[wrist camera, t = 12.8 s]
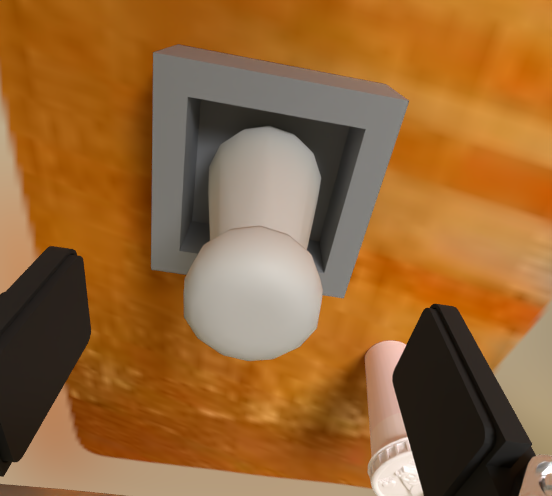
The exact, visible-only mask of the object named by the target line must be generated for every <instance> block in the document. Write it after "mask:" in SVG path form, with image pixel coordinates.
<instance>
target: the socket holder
mask: <svg viewBox="0 0 552 496" xmlns="http://www.w3.org/2000/svg"><path fill="white" fill-rule="evenodd" d="M408 103H409V100H407V99H406V98H405V97H403V96H402V95H400V94H399V93H397V92H396V91H395V90H393V89H392V88H390V87H389V86H388V85H386V84H382V83H377V82H371V81H366V80H361V79H356V78H351V77H345V76H340V75H335V74H330V73H324V72H319V71H314V70H309V69H304V68H298V67H293V66H288V65H283V64H278V63H272V62H267V61H262V60H257V59H252V58H246V57H241V56H236V55H231V54H225V53H220V52H215V51H210V50H205V49H199V48H194V47H189V46H184V45H179V44H178V45H175V46H172V47H169V48H165V49H162V50H159V51H156V52H153V129H152V227H151V270H158V271H164V272H171V273H178V274H185V275H187V273H188V271H189V269H190V267H191V266H192V264H193V262H194V260H195V259H196V257H197V255H198V253H199V252H200V250H201V248H202V247H203V245H204V244H206V243H207V242H209V241H210V224H209V197H208V184H209V166H210V164H211V162H212V160H213V158H214V156H215V154H216V152H217V150H218V148H219V146H220V144H222V143H224V142H225V141H227V140H228V139H230V138H231V137H233V136H234V135H236V134H238V133H239V132H241V131H242V130H244V129H249V128H256V127H263V126H272V127H275V128H278V129H281V130H284V131H286V132H289V133H292V134H294V135H295V136H296V137H297V138H298V139H300V140H301V141H302V142H303V143H304V144H305V145H306V146H307V147H308V148H309V149H310V150H311V151H312V153H313V154H314V157H315V160H316V163H317V166H318V169H319V172H320V176H321V182H320V189H319V195H318V201H317V206H316V210H315V215H314V219H313V224H312V228H311V233H310V238H309V242H308V247H307V251H308V252H309V253H310V254H311V255H312V258H313V260H314V263H315V266H316V269H317V271H318V274H319V277H320V280H321V285H322V289H323V294H322V295H326V296H332V297H339V298H344V296H345V293H346V290H347V287H348V284H349V281H350V278H351V275H352V271H353V268H354V265H355V262H356V259H357V256H358V253H359V250H360V247H361V244H362V241H363V238H364V235H365V232H366V229H367V226H368V223H369V220H370V217H371V214H372V211H373V208H374V205H375V202H376V199H377V196H378V193H379V190H380V187H381V184H382V181H383V178H384V175H385V172H386V169H387V166H388V163H389V160H390V157H391V154H392V151H393V148H394V145H395V142H396V139H397V136H398V133H399V130H400V127H401V124H402V121H403V118H404V115H405V112H406V109H407V106H408Z"/></svg>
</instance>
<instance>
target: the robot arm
mask: <svg viewBox="0 0 552 496" xmlns="http://www.w3.org/2000/svg"><path fill="white" fill-rule="evenodd" d="M90 335H91V326H90V317H89V308H88V299H87V290H86V281H85V272H84V263H83V258H82V257H81V256H77V253H76V251H75V250H73V249H68V248H61V247H54V246H50V247H48V248H47V249H46V250H45V251H44V252H43V253H42V254H41V255H40V256H39V257H38V258H37V259H36V260H35V261H34V262H33V264H32V265H31V266H30V267H29V268H28V269H27V270H26V271H25V272H24V273H23V274H22V275H21V276H20V277H19V278H18V279H17V280H16V281H15V282H14V284H13V285H12V286H11V287H10V288H9V289H8V290H7V291H6V292H4V293H2V294H0V476H4V475H5V473H6V472H7V470H8V468H9V466H10V465H11V463H12V462H18V461H19V460H20V459H21V458H22V457H23V455H24V453H25V452H26V450H27V448H28V447H29V445H30V443H31V441H32V439H33V438H34V436H35V434H36V433H37V431H38V429H39V427H40V426H41V424H42V422H43V420H44V419H45V417H46V415H47V413H48V412H49V410H50V408H51V406H52V405H53V403H54V401H55V399H56V398H57V396H58V394H59V392H60V391H61V389H62V387H63V385H64V384H65V382H66V380H67V378H68V377H69V375H70V373H71V372H72V370H73V368H74V366H75V365H76V363H77V361H78V359H79V358H80V356H81V354H82V352H83V351H84V349H85V347H86V345H87V344H88V341H89V339H90ZM392 382H393V387H394V390H395V394H396V397H397V401H398V405H399V408H400V412H401V415H402V419H403V423H404V426H405V430H406V433H407V437H408V440H409V444H410V448H411V451H412V455H413V458H414V462H415V466H416V469H417V473H418V476H419V480H420V484H421V487H422V491H423V494H424V496H552V456H550V455H537V456H536V455H535V453H534V451H533V449H532V447H531V445H532V443H531V441H530V440H529V437H528V436H527V434H526V432H525V430H524V429H523V427H522V425H521V423H520V421H519V419H518V418H517V416H516V414H515V412H514V410H513V408H512V407H511V405H510V403H509V401H508V399H507V398H506V396H505V394H504V392H503V390H502V389H501V387H500V385H499V383H498V382H497V380H496V378H495V376H494V374H493V372H492V371H491V369H490V367H489V365H488V363H487V361H486V360H485V358H484V356H483V354H482V352H481V351H480V349H479V347H478V345H477V343H476V342H475V340H474V338H473V336H472V334H471V333H470V331H469V329H468V327H467V325H466V324H465V322H464V320H463V318H462V316H461V315H460V313H459V311H458V309H457V308H456V307H453V306H447V305H440V304H433V305H431V307H430V308H425V309H424V311H423V312H422V314H421V316H420V318H419V320H418V323H417V325H416V327H415V329H414V331H413V333H412V335H411V337H410V339H409V341H408V343H407V345H406V347H405V349H404V351H403V353H402V355H401V357H400V359H399V361H398V363H397V365H396V367H395V369H394V371H393V375H392ZM0 496H124V495H114V494H105V493H104V494H103V493H95V492H85V491H74V490H64V489H52V488H41V487H29V486H16V485H5V484H0Z"/></svg>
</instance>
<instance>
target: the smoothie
mask: <svg viewBox="0 0 552 496" xmlns="http://www.w3.org/2000/svg"><path fill="white" fill-rule="evenodd" d="M405 347H406V344H404V343H402V342H399V341H383V342H380V343H378V344H375V345H374V346H372V347H371V348H370V349H369V350H368V351H367V353H366V355H365V370H366V383H367V397H368V411H369V425H370V441H371V452H372V458H371V460H370V461H369V463H368V474H369V476H370V480H371V485H372V489H373V491H374V492H375V494H376V495H377V496H424V494H423V491H422V487H421V484H420V480H419V476H418V473H417V469H416V466H415V462H414V458H413V455H412V451H411V448H410V444H409V440H408V437H407V433H406V430H405V426H404V423H403V419H402V415H401V412H400V408H399V405H398V401H397V397H396V394H395V390H394V387H393V382H392V375H393V371H394V369H395V367H396V365H397V363H398V361H399V359H400V357H401V355H402V353H403V351H404V349H405Z"/></svg>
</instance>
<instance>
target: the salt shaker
mask: <svg viewBox="0 0 552 496" xmlns="http://www.w3.org/2000/svg"><path fill="white" fill-rule="evenodd" d="M320 182H321V176H320V172H319V169H318V166H317V163H316V160H315V157H314V154H313V153H312V151H311V150H310V149H309V148H308V147H307V146H306V145H305V144H304V143H303V142H302V141H301V140H300V139H298V138H297V137H296V136H295V135H294V134H292V133H289V132H286V131H284V130H281V129H278V128H275V127H272V126H263V127H256V128H249V129H244V130H242V131H241V132H239V133H238V134H236V135H234V136H233V137H231V138H230V139H228V140H227V141H225V142H224V143H222V144H220V146H219V148H218V150H217V152H216V154H215V156H214V158H213V160H212V162H211V164H210V166H209V184H208V197H209V224H210V241H209V242H207V243H206V244H204V245H203V247H202V248H201V250H200V252H199V253H198V255H197V257H196V259H195V260H194V262H193V264H192V266H191V267H190V269H189V271H188V273H187V275H186V277H185V282H184V318H185V319H186V321H187V322H188V324H189V325H190V327H191V329H192V330H193V332H194V333H195V335H196V336H197V338H198V339H200V340H201V341H203V342H204V343H206V344H207V345H209V346H210V347H211V348H213V349H214V350H216V351H217V352H219V353H220V354H222V355H225V356H229V357H233V358H237V359H242V360H246V361H254V360H269V359H274V358H276V357H279V356H281V355H283V354H285V353H287V352H289V351H292V350H294V349H296V348H298V347H300V346H301V345H302V344H303V343H304V342H305V340H306V339H307V338H308V337H309V336H310V335H311V334H312V333H313V332H314V331H315V330H316V328H317V323H318V318H319V313H320V307H321V301H322V294H323V289H322V285H321V280H320V277H319V274H318V271H317V269H316V266H315V263H314V260H313V258H312V255H311V254H310V253H309V252H308V251H307V247H308V242H309V238H310V233H311V228H312V224H313V219H314V215H315V210H316V206H317V201H318V195H319V189H320Z"/></svg>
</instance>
